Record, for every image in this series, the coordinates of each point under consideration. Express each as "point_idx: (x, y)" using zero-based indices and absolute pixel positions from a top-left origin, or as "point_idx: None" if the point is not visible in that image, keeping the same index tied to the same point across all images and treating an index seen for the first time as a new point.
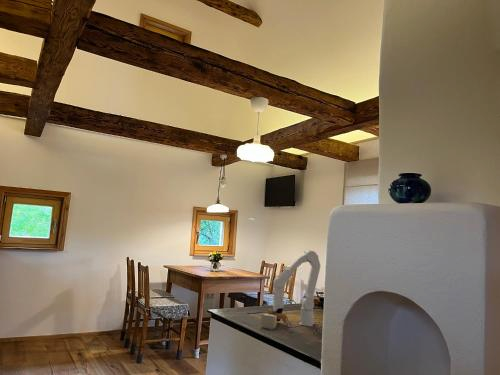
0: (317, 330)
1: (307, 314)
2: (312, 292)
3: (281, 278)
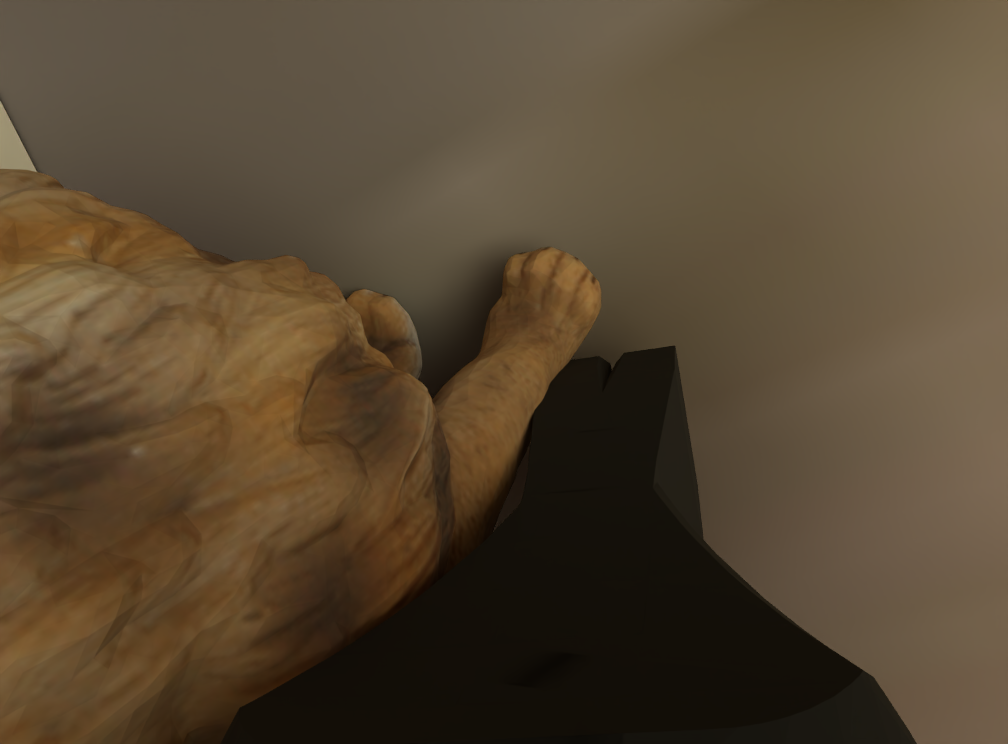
0: None
1: None
2: None
3: None
